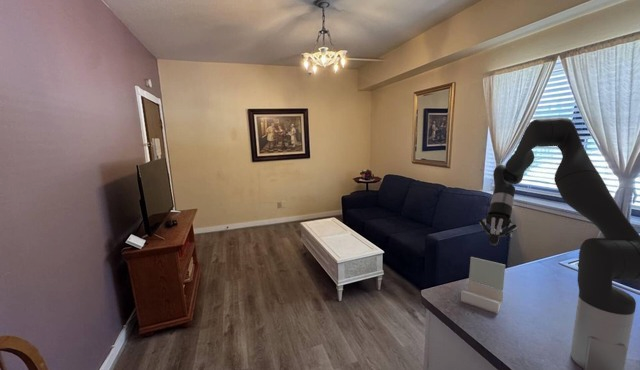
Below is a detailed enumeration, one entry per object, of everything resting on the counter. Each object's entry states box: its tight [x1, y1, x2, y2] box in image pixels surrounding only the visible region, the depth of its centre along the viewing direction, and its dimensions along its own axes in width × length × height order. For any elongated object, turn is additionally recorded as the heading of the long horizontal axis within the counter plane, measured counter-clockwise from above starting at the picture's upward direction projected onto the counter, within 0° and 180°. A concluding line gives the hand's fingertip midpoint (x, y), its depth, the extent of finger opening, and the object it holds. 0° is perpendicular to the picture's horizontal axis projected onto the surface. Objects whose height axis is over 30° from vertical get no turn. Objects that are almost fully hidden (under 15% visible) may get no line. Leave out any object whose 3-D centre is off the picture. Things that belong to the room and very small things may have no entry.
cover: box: [468, 256, 506, 291], centre depth 95 cm, size 11×9×1 cm
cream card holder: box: [460, 280, 504, 315], centre depth 92 cm, size 11×9×4 cm
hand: (492, 244), depth 100 cm, fingers closed
